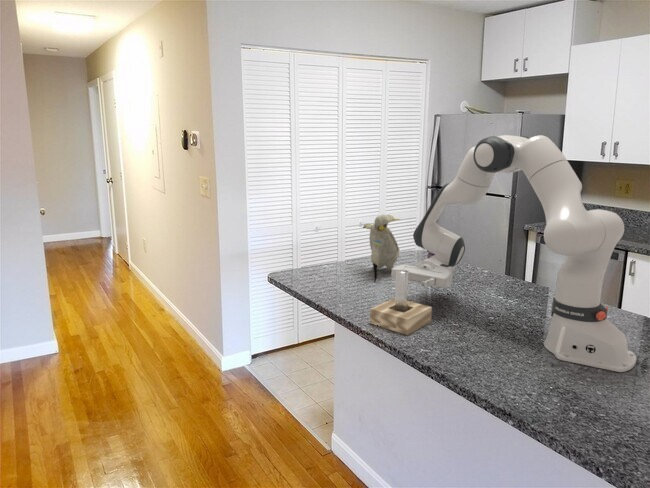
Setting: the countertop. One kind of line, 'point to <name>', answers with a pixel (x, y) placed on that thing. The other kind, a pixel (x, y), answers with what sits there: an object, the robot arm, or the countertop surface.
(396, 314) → the socket block
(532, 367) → the countertop surface
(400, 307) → the pin
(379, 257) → the figurine
